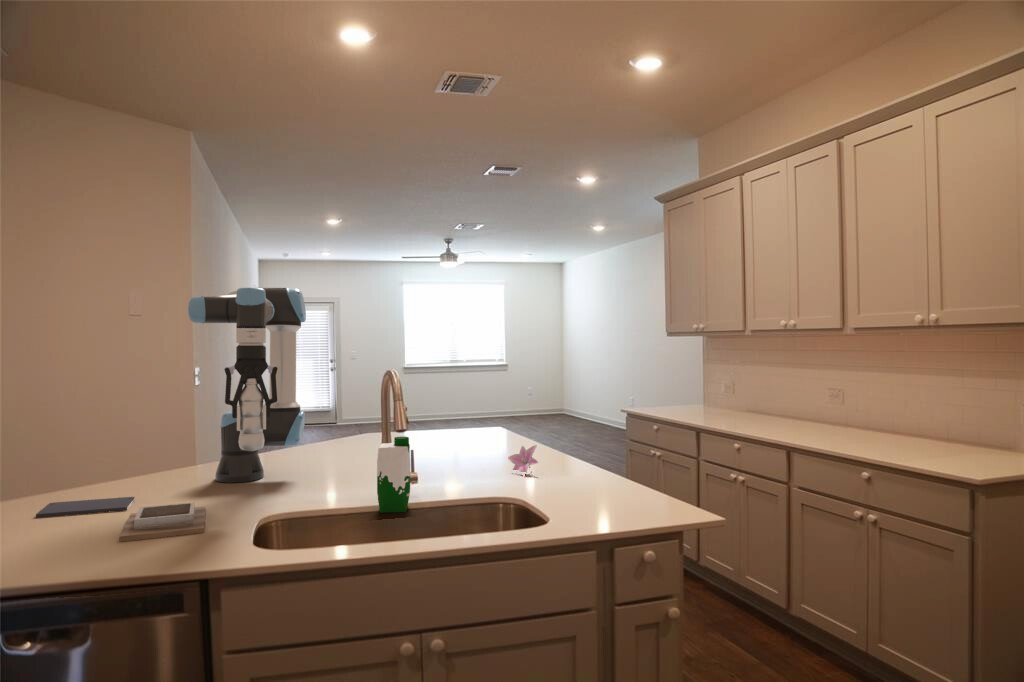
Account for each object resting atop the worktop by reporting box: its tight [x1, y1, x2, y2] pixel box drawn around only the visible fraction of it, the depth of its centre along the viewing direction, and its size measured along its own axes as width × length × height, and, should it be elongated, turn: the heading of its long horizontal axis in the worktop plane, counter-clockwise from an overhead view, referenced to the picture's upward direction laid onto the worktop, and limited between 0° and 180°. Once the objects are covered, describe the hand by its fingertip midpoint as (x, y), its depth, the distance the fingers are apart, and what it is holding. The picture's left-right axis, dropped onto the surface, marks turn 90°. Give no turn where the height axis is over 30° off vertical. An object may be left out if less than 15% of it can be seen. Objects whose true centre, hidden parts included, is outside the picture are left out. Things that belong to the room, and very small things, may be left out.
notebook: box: [35, 496, 135, 519], centre depth 186 cm, size 13×2×21 cm
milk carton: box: [376, 436, 411, 514], centre depth 186 cm, size 9×9×20 cm
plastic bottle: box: [238, 378, 265, 451], centre depth 182 cm, size 6×7×20 cm
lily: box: [507, 444, 539, 473], centre depth 235 cm, size 12×12×10 cm
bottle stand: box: [119, 501, 207, 543], centre depth 170 cm, size 22×18×4 cm
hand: (251, 429), depth 182 cm, fingers closed on plastic bottle, 6 cm apart
